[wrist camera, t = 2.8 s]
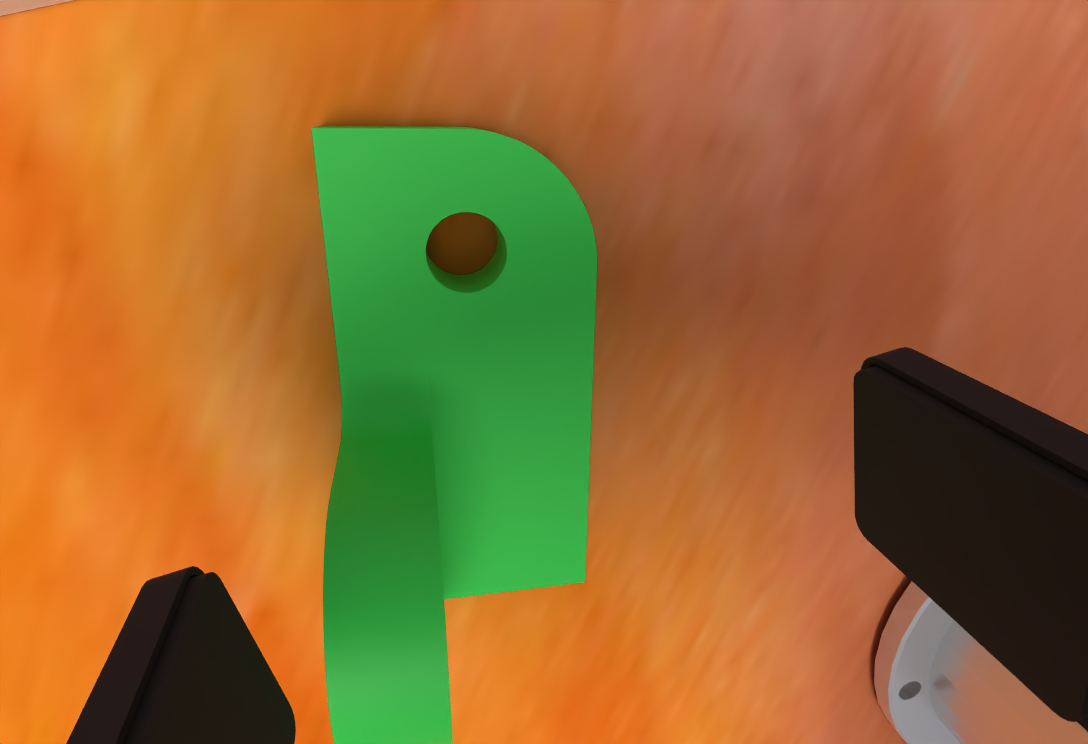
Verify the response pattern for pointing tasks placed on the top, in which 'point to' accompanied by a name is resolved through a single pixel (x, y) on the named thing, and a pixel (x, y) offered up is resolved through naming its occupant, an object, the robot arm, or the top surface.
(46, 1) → the socket board
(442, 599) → the mechanical part
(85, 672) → the top surface
